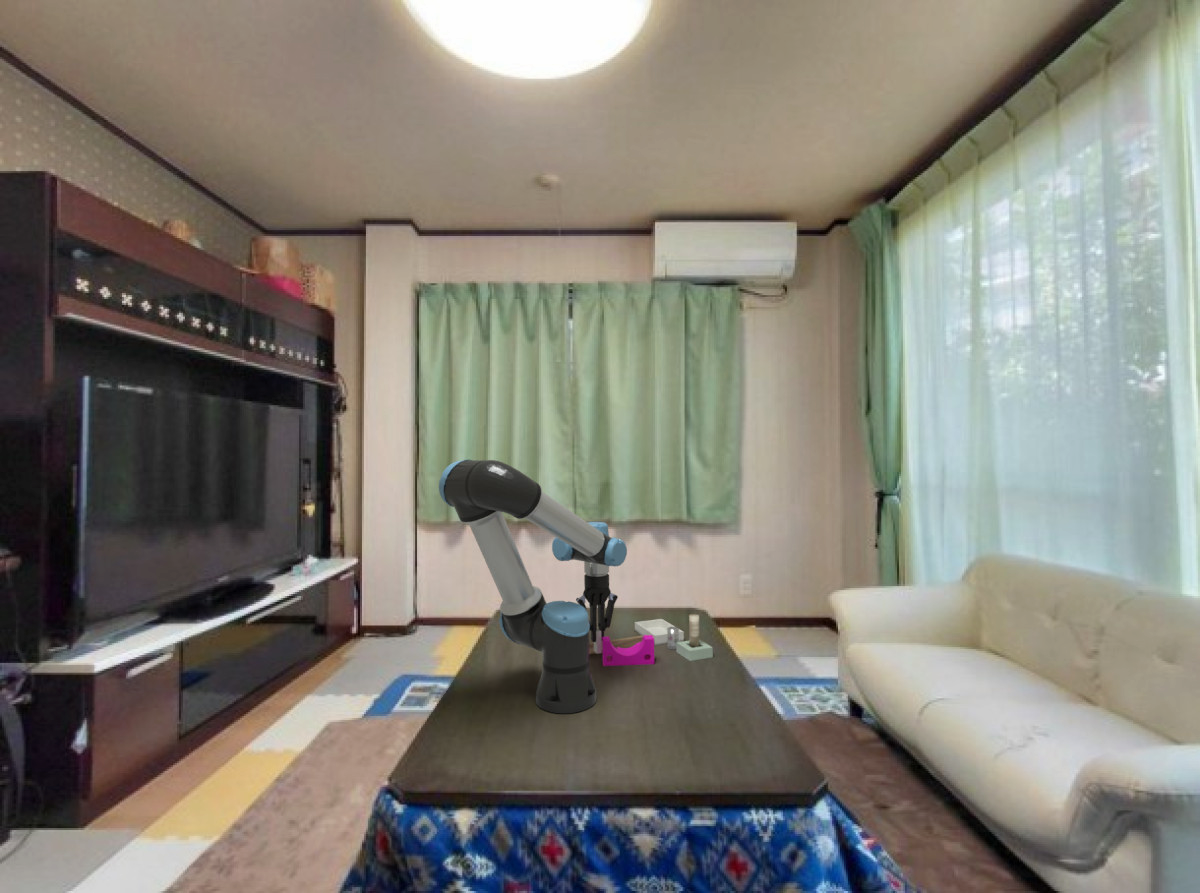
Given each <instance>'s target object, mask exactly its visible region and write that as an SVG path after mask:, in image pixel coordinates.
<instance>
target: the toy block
mask: <svg viewBox="0 0 1200 893" xmlns="http://www.w3.org/2000/svg"><path fill="white" fill-rule="evenodd" d="M610 640H611V638H610V636H604V637H602V653H601V654H602V665H603V667H611V666H613V667H614V666H639V665H642V666H645V665H655V645H654V638H653V636H652V635H643V639H642V641H641V643H637V644H635V645H634V646H632V647H630V648H619V647H617V649H616V648H615V647H614V646H613V645H612V643H611V641H610Z"/></svg>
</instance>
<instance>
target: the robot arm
mask: <svg viewBox="0 0 1200 893" xmlns="http://www.w3.org/2000/svg"><path fill="white" fill-rule="evenodd" d="M438 492H439V496H440V498H441V499H442V501H443V502H444V503H445V504H447V505H448V506H450V507H453V508H454V510H455V512H456V514H457V516H458V519H459V521H460V522H461V523H463V524H466V525H468V526H469V527H470V529H471V532H472V534H473V536H474V540H475V541H476V543H477V546H478V547H479V550H480V552H481V554H482V555H481V556H482V557H483V558H484V562H485V563H486V566H487V568H488V571H489V573H490V575H491V578H492V580H493V581H494V584H495V586H496V589H497V591H498V594H499V596H500V597H501V600H502V601H501V603H500V607H499V610H500V613H499V615H500V617H499V619H498V620H499V621H498V622H499V627H500V631H501V632H502V633H503V635H504V636H505V637H506V638H507V639H508V640H510V641H512V642H513V643H515V644H517V645H521V646H524V647H526V648H530V649H533V650H536V651H538V652H541V653H542V672H541V676H540V677H539V681H538V684H537V687H536V688H537V689H536V692H535V704H536V705H537V706H538V707H539V708H540V709H542V710H543V711H546V712H550V713H556V714H573V713H580V712H582V711H586V710H589V709H590V708H591V707H593V706H594V705H595V703H596V702H597V688H596V685H595V682H594V679H593V675H592V673H591V671H590V654H589V643H590V640H591V643H592V642H594V651H595V652H596V653H595V654H597V655H598V654H602V643H601V641H602V637H605V632H606V629H607V628H609V629H610V627H611V623H612V618H613V613H614V610H615V604H616V602H617V600H618V595H617V594H615V593H612V591H611V589H610V574H609V572H610V567H620V566H621V565H622V564H623V563H624V562H625V561H626V558H627V554H628V547H627V544H626V542H625V541H624V540H622V539H620V538H617V537H613V536H612V537H610V531H609V525H608V524H607V523H606V522H604V521H603V522H602V521H588V522H587V521H586V520H584V519H583V518H581V517H580V516H578V515H577V514H576V513H574V512H573V511H571V510H570V509H568V508H567V507H565V506H564V505H562V504H561V503H559V502H558V501H557V500H555V499H553V497H551V496H549V495H548V494H546V493H544V492H543V489H542V487H541V485H540V484H539V483H538V482H536V481H535V480H534V479H532V478H530V477H529V476H527V475H526V474H525V473H523V472H521V471H520V470H518V469H517V468H515V467H513V466H511V465H509V464H507V463H505V462H502V461H499V460H495V459H487V460H483V459H482V460H472V459H462V460H458V461H455V462H452V463H450V464H449V465H447V466H446V468H445V469H444V470H443V471H442V473H441V475H440V479H439V483H438ZM503 513H504V514H508V515H510V516H512V517H513V518H516V520H517V519H518V520H524V519H525V520H527V521H529V522H530V523H532V524H533V525H535V526H537V527H538V528H540V529H542V530H543V531H545V532H546V533H548V534H550V535H551V536H553V537H554V539H553V540H552V543H551V551H552V554H553V556H554V558H556V560H558V561H560V562H569V561H573V560H575V561H581V562H583V564H584V567H583V568H584V573H585V574H584V578H583V580H584V585H583V586H584V591H583V592H582V595H581V596H580V597H577V598H576V599H575V601H576V602H573V601H570V600H569V601H565V600H552V601H549V602H547V601H546V599H545V597H544V594H543V592H542V590H541V588H540V587H538V586H534V585H533V583H532V581H531V578H530V576H529V574H528V572H527V568H526V567H525V564H524V561H523V559H522V557H521V554H520V552H519V549H518V547H517V545H516V542H515V540H514V537H513V536H512V533H511V530H510V529H509V525H508V523H507V521H506V519H505V516H504V514H503ZM607 600H608V601H607ZM586 601H587V602H588V603H589V604H588V605H589V612H588V611H587V606H586V603H587V602H586ZM606 602H607V605H606ZM605 608H606V610H605ZM597 627H598V628H597Z"/></svg>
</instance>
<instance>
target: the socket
mask: <svg viewBox="0 0 1200 893" xmlns="http://www.w3.org/2000/svg"><path fill="white" fill-rule="evenodd" d="M676 644H677V649H676V653H677V654H679V655H680V656H681V657H683V658H685V659H686V660H687V661H689V662H692V661H698V660H704V659H711V658H713V657H714V653H713V652H714V649H713V646H711V645H709V643H707V642H705V641H703V640H701V639H699V647H694V648H691V647H690V646H689V640H684V641H680V642H676Z"/></svg>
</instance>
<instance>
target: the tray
mask: <svg viewBox="0 0 1200 893" xmlns="http://www.w3.org/2000/svg"><path fill="white" fill-rule="evenodd" d="M668 627H676V626H675V625H673V624H672V623H670V622H668V621H666V620H665V619H663V618H658V619H651V620H640V621H634V632H636V633H637V634H639V636H642V635H652V636H653V638H654V646H657V645H666V644H667V628H668ZM683 641H685V631H683V630H681V629H680V628H679V642H683Z"/></svg>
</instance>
